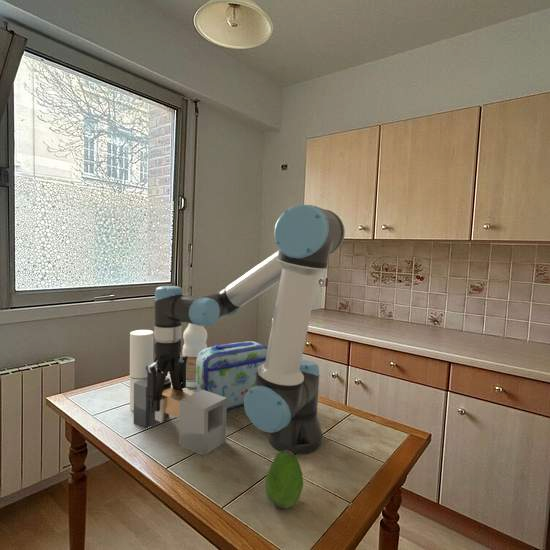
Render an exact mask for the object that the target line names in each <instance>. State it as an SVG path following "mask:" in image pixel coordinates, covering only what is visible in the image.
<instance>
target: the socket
mask: <svg viewBox="0 0 550 550" xmlns="http://www.w3.org/2000/svg"><path fill="white" fill-rule="evenodd" d="M167 381H170V382H171V378H170V377H167V376H166V378H165V382H167ZM167 418H168V419H170V415H169V414H167V413H164V412H163V420H164V421H166V420H168V419H167ZM165 419H166V420H165ZM158 422H159V421H157V420H155V412H153V413H149V399H148V398H147V378H146V379H143V380H140V381H137V382H135V383H134V411H133V424H134V425H135V426H138V427H140V428H142V427H143V428H142V429H144V428H145V430H147V429H149V428H151V427H153V426H155V425H157V424H159V423H160V422H159V423H158ZM154 424H155V425H154ZM150 426H151V427H150ZM148 427H149V428H148ZM146 428H147V429H146Z"/></svg>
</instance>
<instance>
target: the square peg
mask: <svg viewBox="0 0 550 550" xmlns="http://www.w3.org/2000/svg"><path fill="white" fill-rule="evenodd" d="M190 395H191V394H190V393H187V392H184V391H183V392H182V391H179V390H176V389H173V387H172V382H171V380H170V381H167V382H165V383H164V388H163V393H162V397H161V399H163V400H164V407H163V412H164V413H167V414H169V416H172V417H174V418H176V419H179V413H180V400H181V399H183V398H185V397H188V396H190ZM153 412H155V411H154V409H153V400H150V399H149V413H153Z"/></svg>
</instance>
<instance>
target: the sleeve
mask: <svg viewBox="0 0 550 550" xmlns="http://www.w3.org/2000/svg"><path fill="white" fill-rule="evenodd" d="M227 411H228V409H227V398H226V397H223V396H220V395H217V394H214V393H211V392H208V391H205V390H201V391H199V392H197V393H196V392H195V393H192V394H190V396H188V397H185V398H183V399H181V400H180V413H179V418H178V420H179V421H178V422H179V427H178V445H179V446H181V447H183V448H185V449H187V450H189V451H191V452H193V453H195V454H198V455H200V456H202V457H204V456H206V455H209V453H211V452H212V451H214V450H216V449H217V448H218V447H220V446H222V445H224V443H226V442H227V438H226V437H227V413H228V412H227ZM225 441H226V442H225Z"/></svg>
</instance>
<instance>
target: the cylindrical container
mask: <svg viewBox="0 0 550 550" xmlns="http://www.w3.org/2000/svg"><path fill="white" fill-rule="evenodd" d="M153 363H154V330H151V329H137V330H132V331H130V332H129V410H130V411H131V412H134V383H135V382H137V381H140V380H143V379H146V378H147V377H148V373H147V370H146V366H147V365H151V364H153Z"/></svg>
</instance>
